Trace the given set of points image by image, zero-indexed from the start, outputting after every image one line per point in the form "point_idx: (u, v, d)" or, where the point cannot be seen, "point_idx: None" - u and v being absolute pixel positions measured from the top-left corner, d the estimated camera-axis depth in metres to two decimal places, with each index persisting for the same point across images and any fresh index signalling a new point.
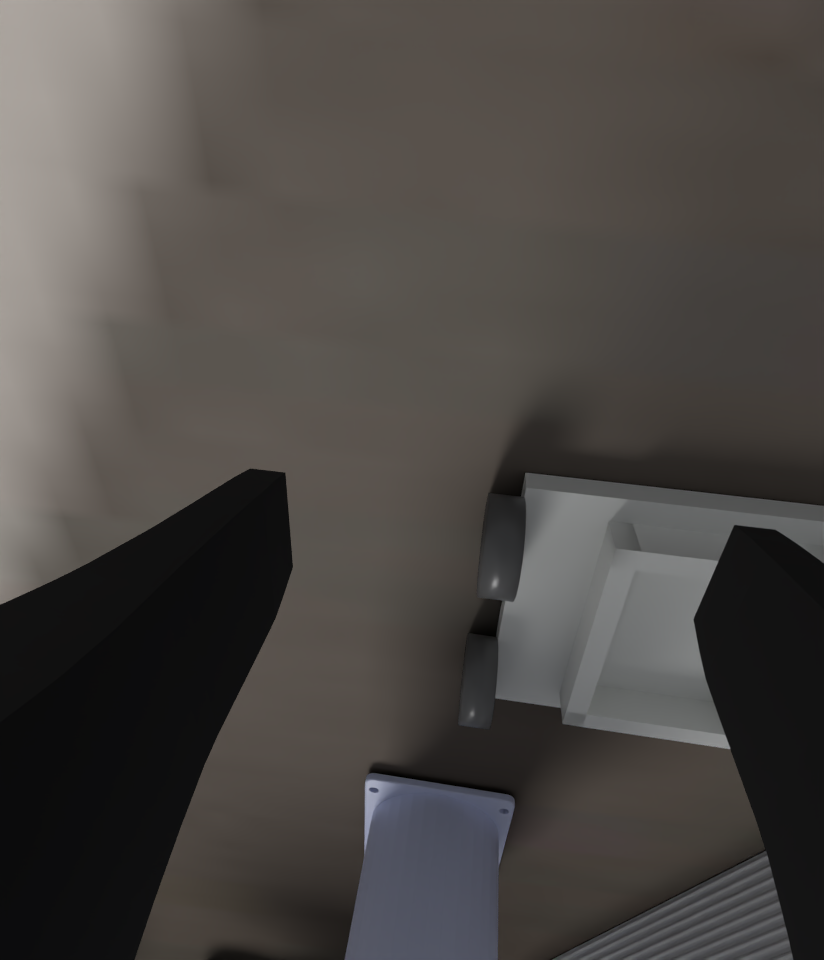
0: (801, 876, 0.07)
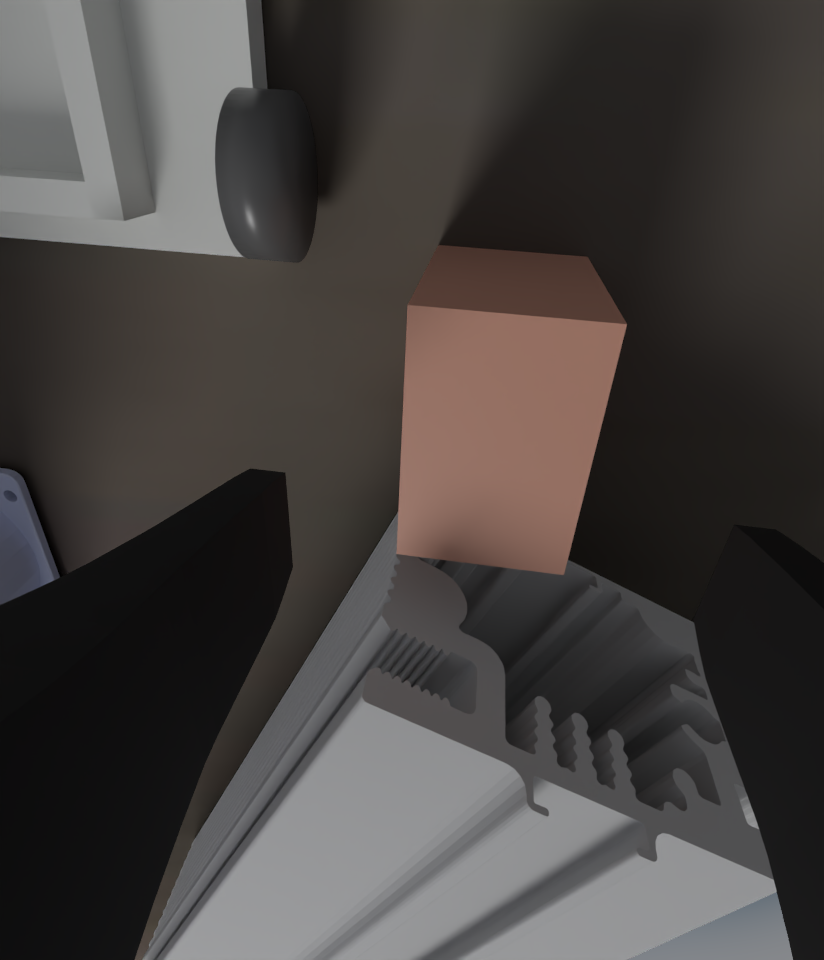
0: (801, 876, 0.07)
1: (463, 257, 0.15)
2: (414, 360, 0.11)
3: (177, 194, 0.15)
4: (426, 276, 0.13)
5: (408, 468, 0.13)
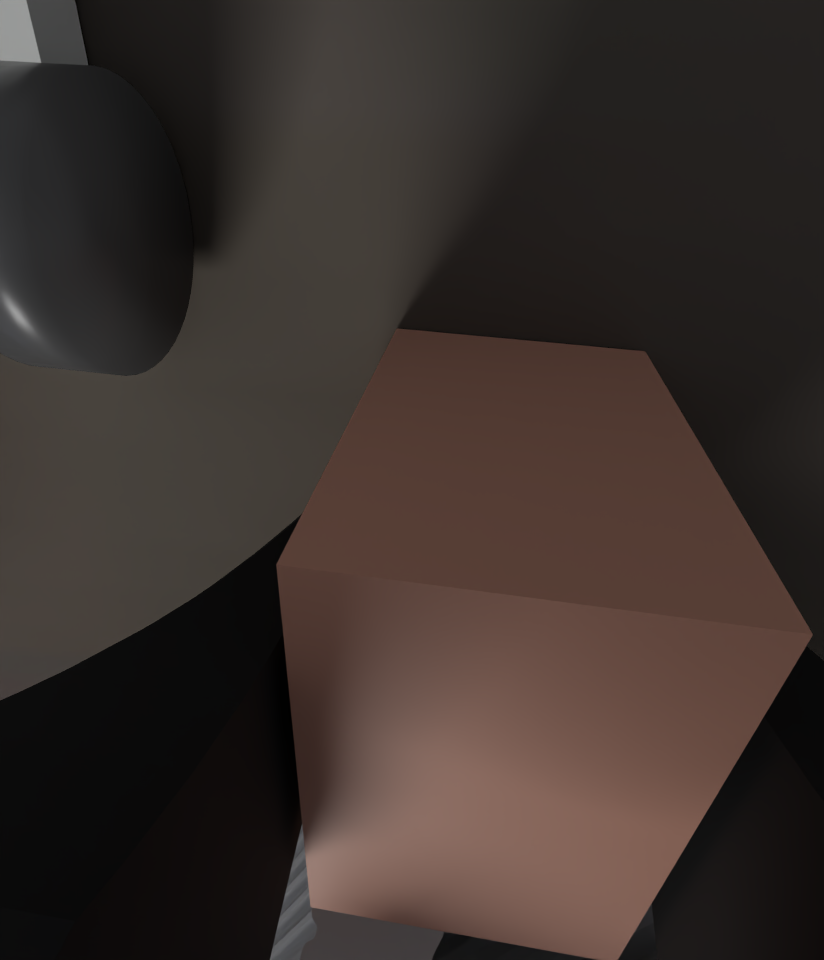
0: None
1: (434, 363, 0.08)
2: (305, 659, 0.05)
3: None
4: (352, 431, 0.06)
5: (316, 811, 0.06)
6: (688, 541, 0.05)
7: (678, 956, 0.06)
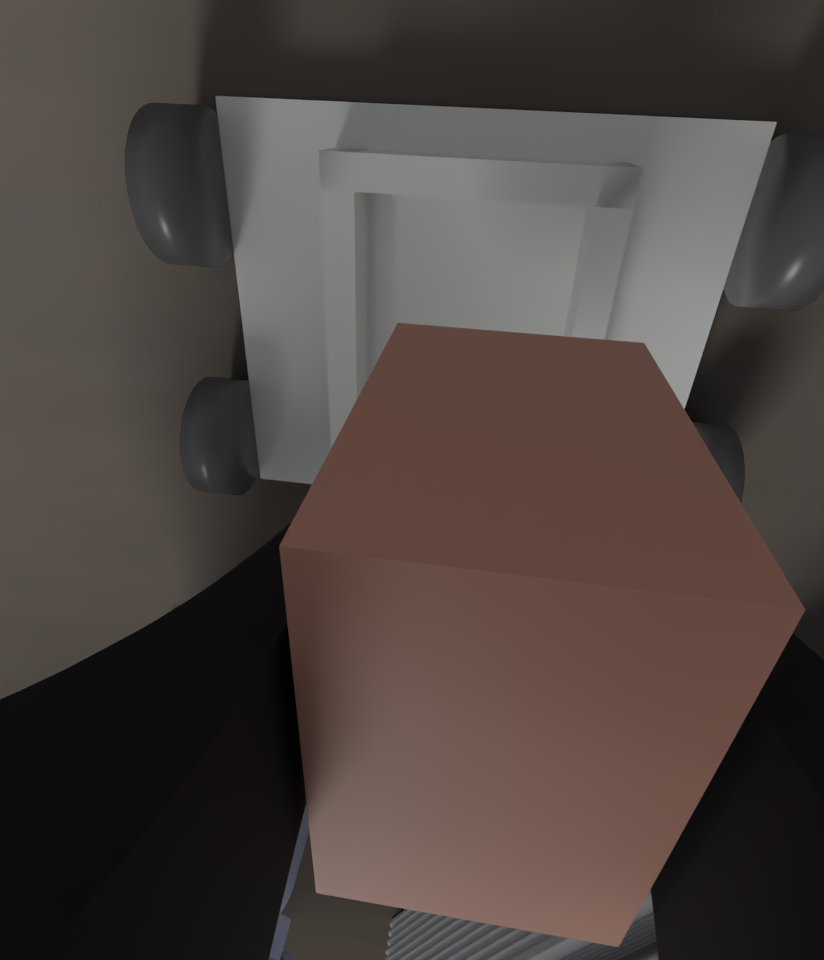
0: None
1: (434, 355, 0.08)
2: (308, 641, 0.05)
3: None
4: (353, 420, 0.07)
5: (320, 795, 0.07)
6: (683, 522, 0.05)
7: (679, 956, 0.06)
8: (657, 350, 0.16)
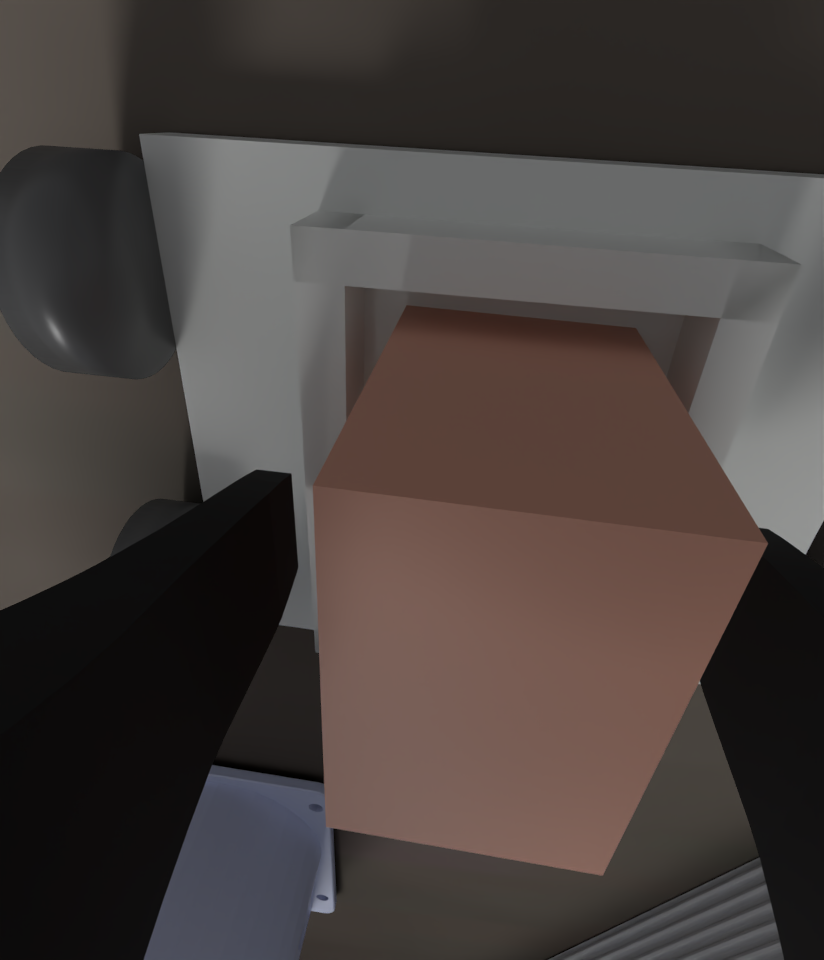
0: (792, 874, 0.07)
1: (442, 334, 0.09)
2: (333, 575, 0.06)
3: None
4: (371, 387, 0.07)
5: (335, 727, 0.07)
6: (666, 475, 0.06)
7: None
8: (771, 492, 0.11)
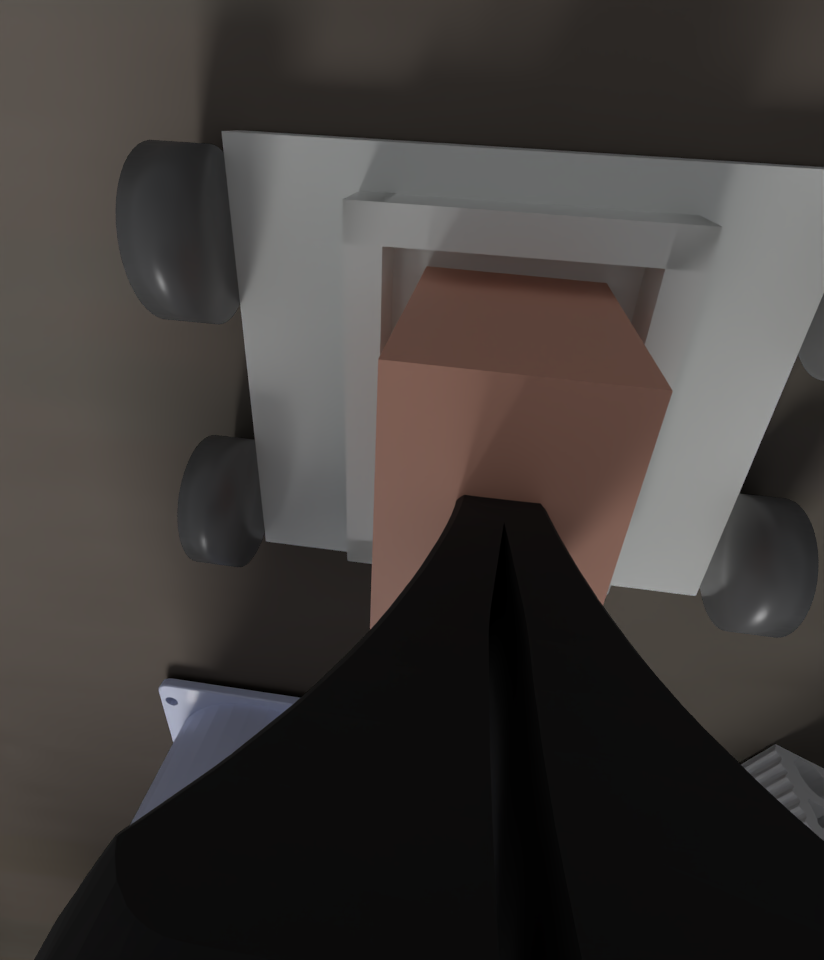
0: (493, 825, 0.07)
1: (456, 284, 0.12)
2: (388, 428, 0.09)
3: (628, 548, 0.16)
4: (407, 312, 0.10)
5: (382, 557, 0.10)
6: (614, 360, 0.09)
7: None
8: (717, 419, 0.14)
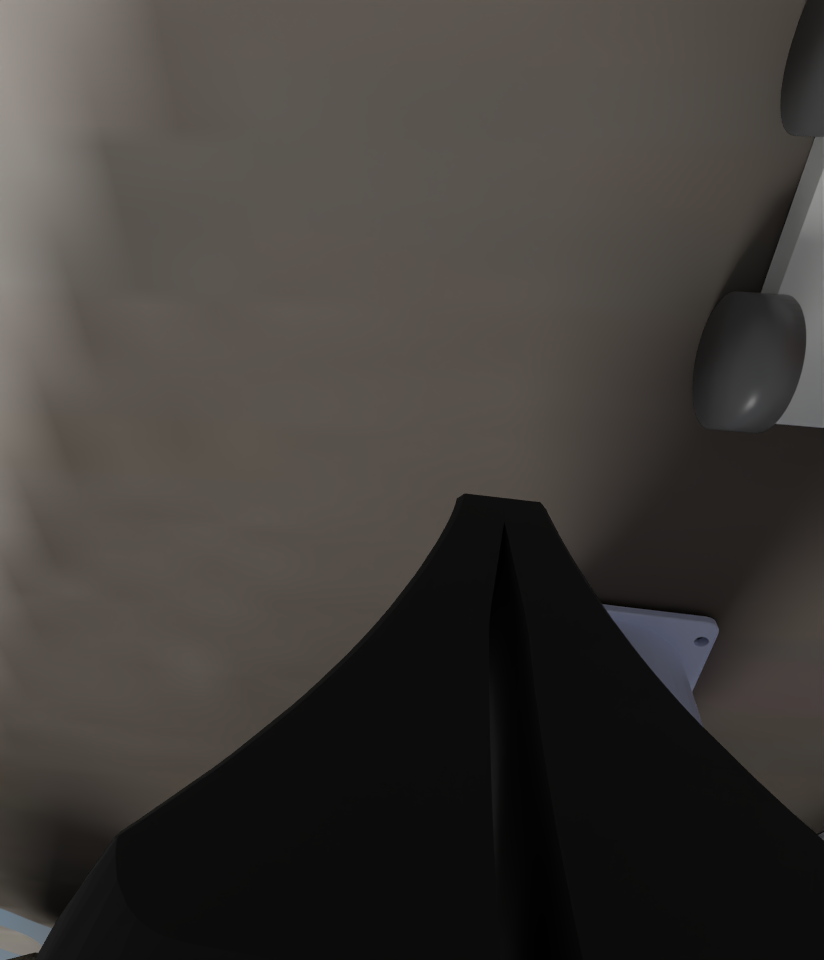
0: (494, 825, 0.07)
1: None
2: None
3: None
4: None
5: None
6: None
7: None
8: None
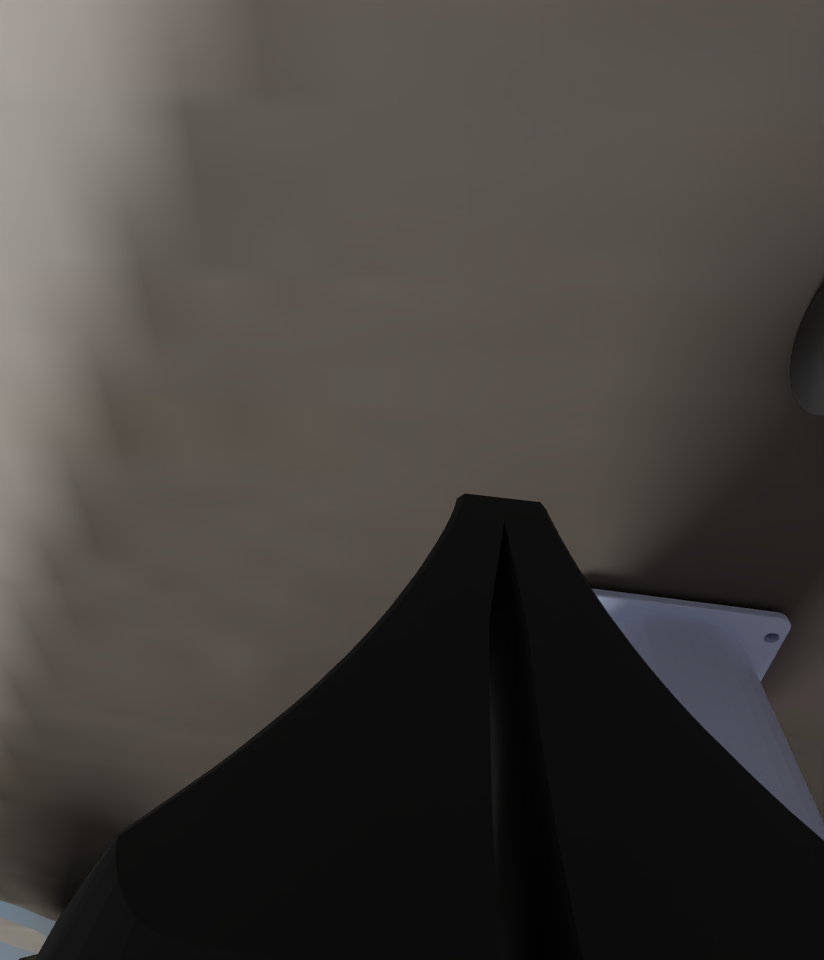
0: (493, 825, 0.07)
1: None
2: None
3: None
4: None
5: None
6: None
7: None
8: None
